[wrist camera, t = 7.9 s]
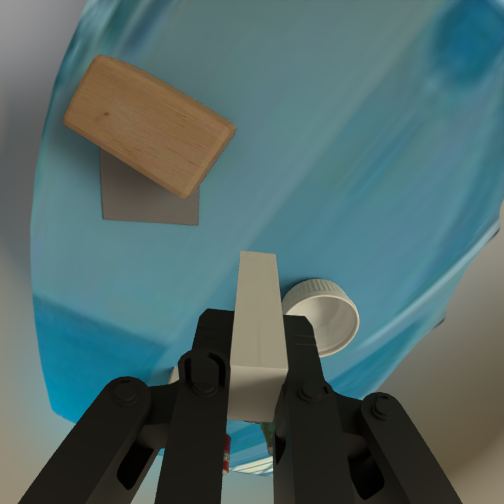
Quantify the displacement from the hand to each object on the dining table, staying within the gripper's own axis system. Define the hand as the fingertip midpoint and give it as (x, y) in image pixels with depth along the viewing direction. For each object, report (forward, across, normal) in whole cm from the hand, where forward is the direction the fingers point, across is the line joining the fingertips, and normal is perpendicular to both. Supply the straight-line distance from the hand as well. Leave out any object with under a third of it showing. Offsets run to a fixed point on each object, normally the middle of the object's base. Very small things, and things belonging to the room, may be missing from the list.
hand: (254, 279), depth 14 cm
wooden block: (+26, -5, +1) cm, 26 cm away
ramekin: (+31, +12, -23) cm, 40 cm away
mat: (+31, -16, -2) cm, 35 cm away
